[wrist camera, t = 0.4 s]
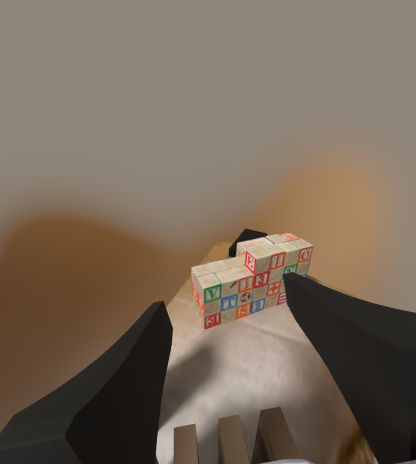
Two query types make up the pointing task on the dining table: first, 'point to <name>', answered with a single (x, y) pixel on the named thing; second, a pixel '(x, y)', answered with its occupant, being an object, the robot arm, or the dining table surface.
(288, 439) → the domino
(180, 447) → the domino
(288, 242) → the stack of blocks
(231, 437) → the domino
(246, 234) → the figurine character
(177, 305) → the dining table surface
